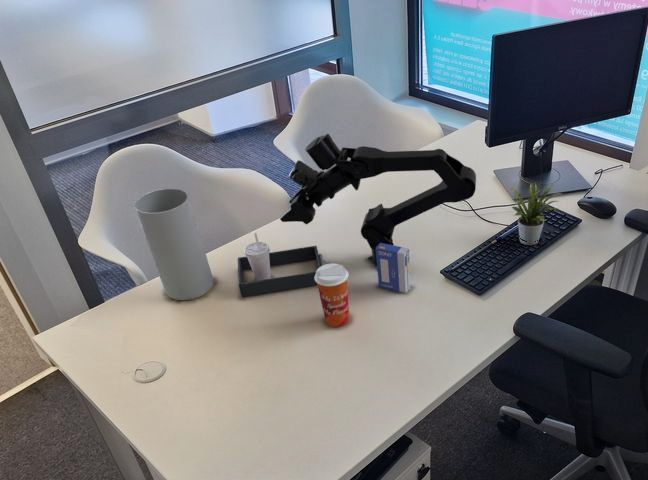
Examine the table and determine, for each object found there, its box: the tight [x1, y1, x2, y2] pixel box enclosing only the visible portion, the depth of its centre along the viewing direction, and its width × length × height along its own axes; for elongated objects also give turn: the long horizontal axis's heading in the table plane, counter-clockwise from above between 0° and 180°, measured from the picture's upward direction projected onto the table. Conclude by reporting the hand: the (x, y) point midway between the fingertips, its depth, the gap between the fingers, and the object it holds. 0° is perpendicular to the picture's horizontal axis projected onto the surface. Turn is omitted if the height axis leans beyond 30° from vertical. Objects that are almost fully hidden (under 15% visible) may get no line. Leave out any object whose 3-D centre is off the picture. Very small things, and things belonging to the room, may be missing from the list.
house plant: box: [510, 182, 562, 246], centre depth 166 cm, size 14×14×16 cm
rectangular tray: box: [237, 245, 326, 299], centre depth 162 cm, size 22×13×4 cm, turn 103°
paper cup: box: [314, 263, 350, 328], centre depth 144 cm, size 8×8×14 cm
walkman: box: [376, 243, 412, 294], centre depth 153 cm, size 8×3×12 cm, turn 66°
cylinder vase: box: [133, 187, 215, 301], centre depth 153 cm, size 12×12×25 cm
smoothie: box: [243, 232, 272, 281], centre depth 158 cm, size 6×6×14 cm
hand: (285, 211), depth 160 cm, fingers open, 9 cm apart
